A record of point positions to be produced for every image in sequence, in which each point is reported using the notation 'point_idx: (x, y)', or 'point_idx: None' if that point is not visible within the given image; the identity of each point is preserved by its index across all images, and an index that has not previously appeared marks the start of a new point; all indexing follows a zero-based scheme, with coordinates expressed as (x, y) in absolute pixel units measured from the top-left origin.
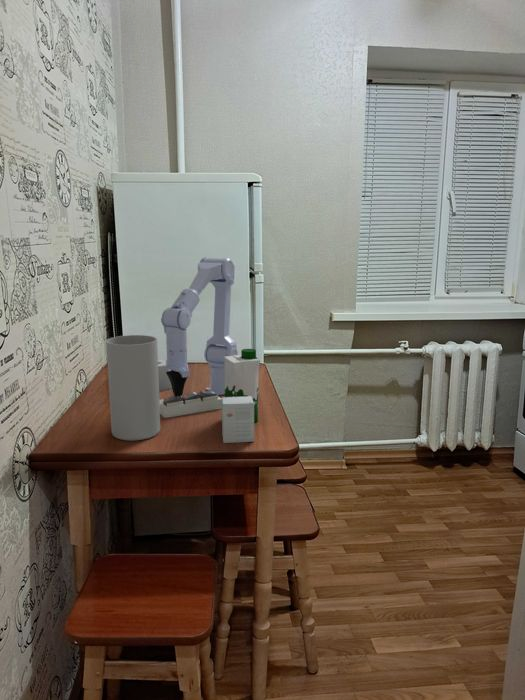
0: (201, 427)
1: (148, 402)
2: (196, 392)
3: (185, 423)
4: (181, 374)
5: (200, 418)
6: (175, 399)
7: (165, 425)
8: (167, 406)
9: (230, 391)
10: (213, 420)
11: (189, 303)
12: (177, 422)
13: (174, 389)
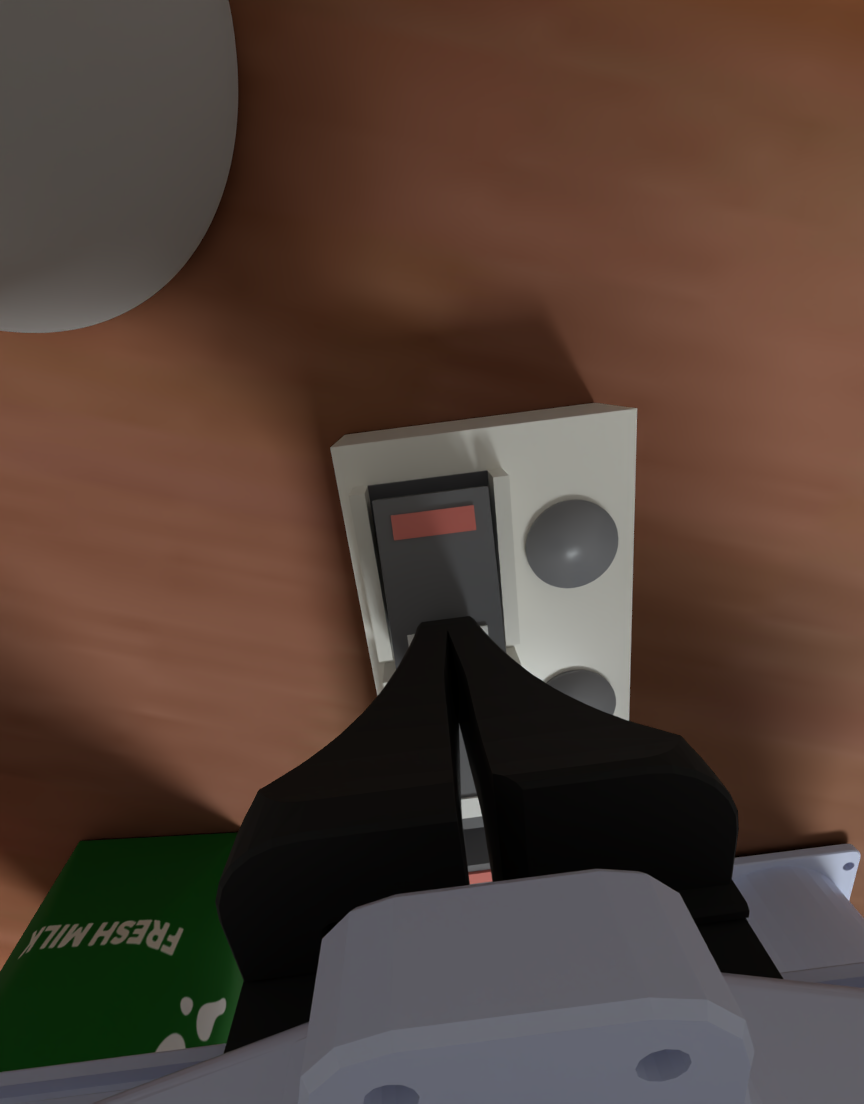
0: (67, 658)
1: None
2: (480, 824)
3: (175, 572)
4: (79, 1073)
5: (262, 690)
6: (389, 603)
7: (157, 406)
8: (351, 490)
9: None
10: (199, 755)
11: None
12: (212, 518)
13: (400, 662)
